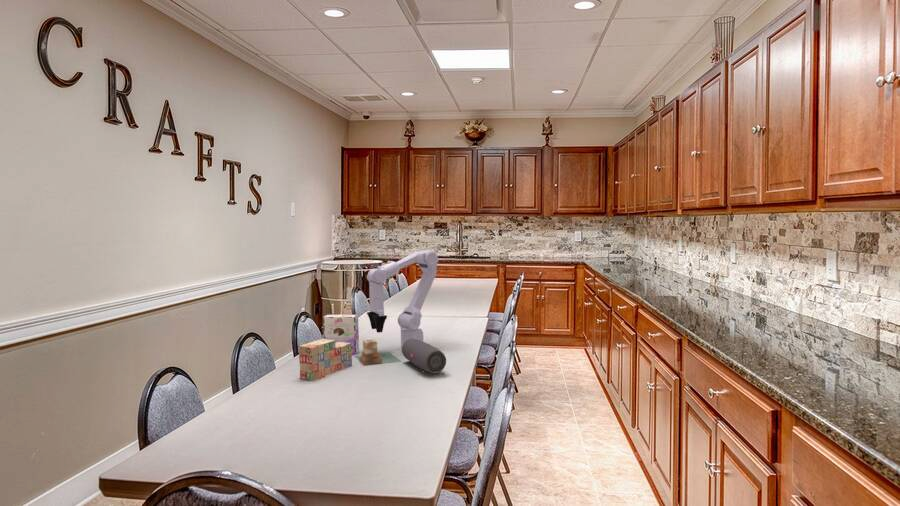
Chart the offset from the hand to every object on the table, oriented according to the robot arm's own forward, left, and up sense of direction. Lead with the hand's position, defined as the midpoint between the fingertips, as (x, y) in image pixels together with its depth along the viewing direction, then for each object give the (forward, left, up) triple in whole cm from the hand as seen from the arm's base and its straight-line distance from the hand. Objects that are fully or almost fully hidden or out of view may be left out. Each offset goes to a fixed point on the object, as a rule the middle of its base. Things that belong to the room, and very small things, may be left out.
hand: (376, 330), depth 227 cm
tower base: (+6, +11, -10) cm, 16 cm away
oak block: (+6, +11, -6) cm, 14 cm away
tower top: (+6, +11, -8) cm, 15 cm away
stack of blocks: (+24, +16, -11) cm, 31 cm away
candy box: (+13, -9, -11) cm, 19 cm away
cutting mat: (+2, +7, -10) cm, 13 cm away
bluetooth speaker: (-10, +27, -11) cm, 31 cm away
